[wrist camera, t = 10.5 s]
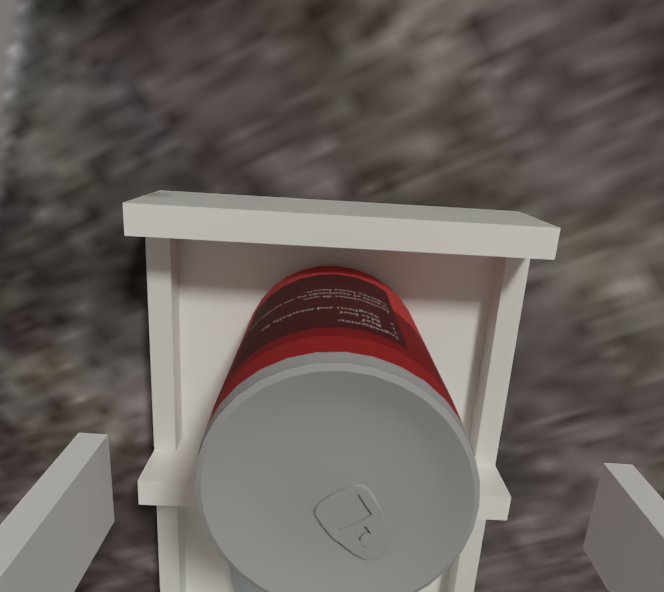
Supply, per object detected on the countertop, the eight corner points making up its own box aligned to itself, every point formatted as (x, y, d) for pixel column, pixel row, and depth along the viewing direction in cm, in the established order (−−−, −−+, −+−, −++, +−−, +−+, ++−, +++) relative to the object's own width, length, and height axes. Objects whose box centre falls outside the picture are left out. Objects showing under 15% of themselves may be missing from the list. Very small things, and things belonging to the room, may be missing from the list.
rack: (518, 211, 24) (560, 228, 20) (450, 634, 31) (471, 715, 27) (159, 190, 24) (122, 202, 19) (174, 624, 31) (149, 705, 26)
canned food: (336, 448, 26) (343, 658, 16) (212, 343, 25) (128, 498, 14) (452, 344, 25) (546, 499, 14) (328, 224, 23) (332, 299, 13)
